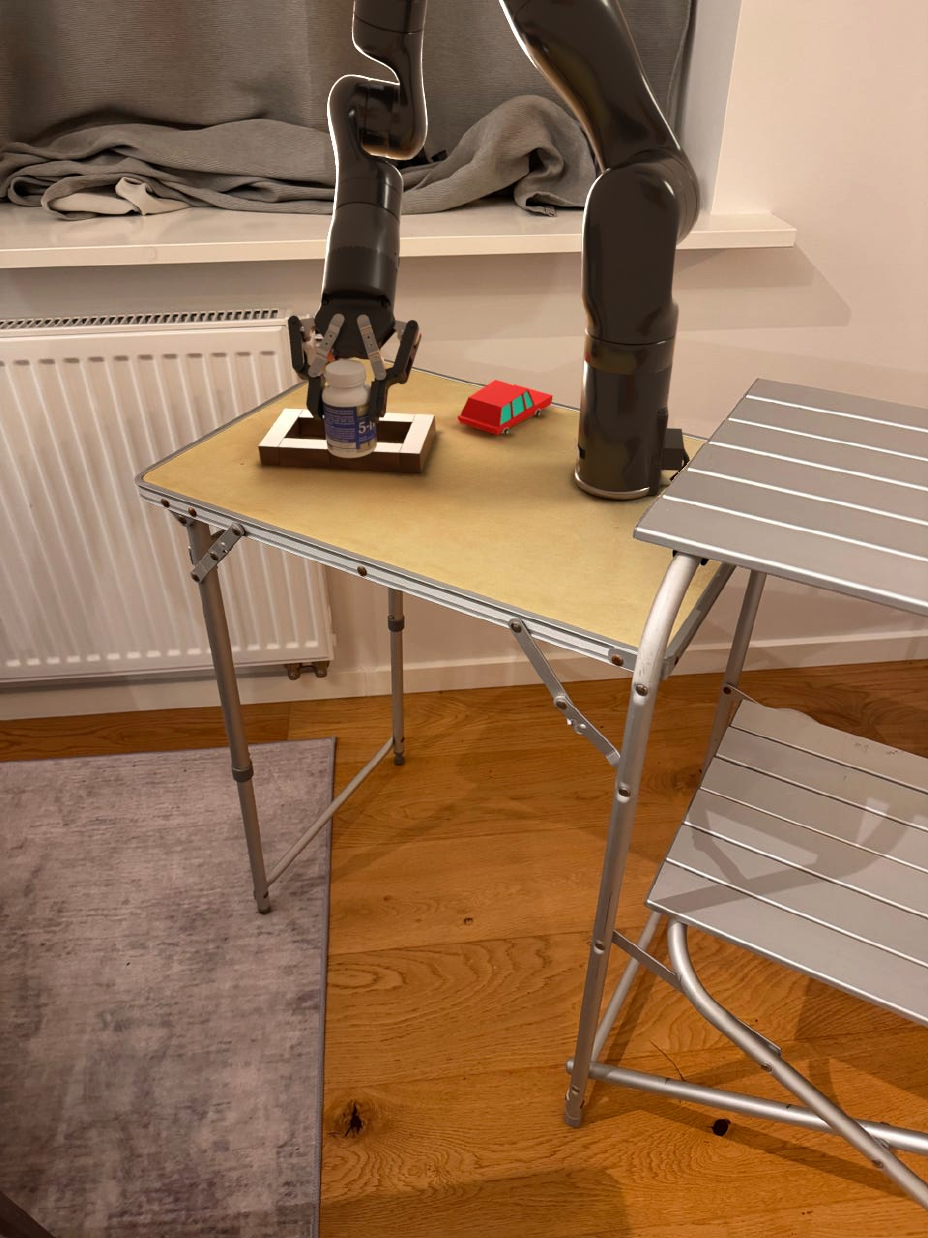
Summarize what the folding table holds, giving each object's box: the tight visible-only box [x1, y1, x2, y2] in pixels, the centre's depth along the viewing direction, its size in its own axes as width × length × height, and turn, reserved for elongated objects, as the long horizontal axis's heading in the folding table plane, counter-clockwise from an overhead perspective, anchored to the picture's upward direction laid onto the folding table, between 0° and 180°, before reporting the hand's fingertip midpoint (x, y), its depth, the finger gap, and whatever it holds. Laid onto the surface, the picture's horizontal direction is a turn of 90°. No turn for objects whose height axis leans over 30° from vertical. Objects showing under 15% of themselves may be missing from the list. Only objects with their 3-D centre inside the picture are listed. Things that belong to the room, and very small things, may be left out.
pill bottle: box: [322, 359, 378, 458], centre depth 93 cm, size 5×5×9 cm
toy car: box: [457, 379, 553, 436], centre depth 115 cm, size 6×12×4 cm, turn 141°
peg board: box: [257, 408, 437, 474], centre depth 109 cm, size 19×11×2 cm, turn 82°
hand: (345, 418), depth 91 cm, fingers closed on pill bottle, 5 cm apart
